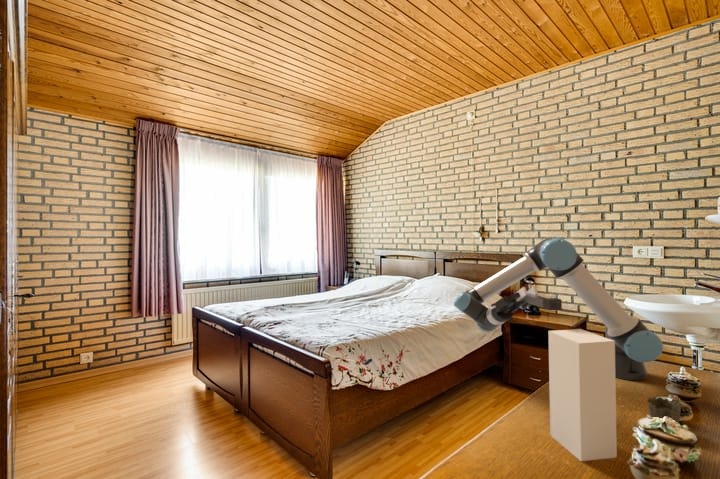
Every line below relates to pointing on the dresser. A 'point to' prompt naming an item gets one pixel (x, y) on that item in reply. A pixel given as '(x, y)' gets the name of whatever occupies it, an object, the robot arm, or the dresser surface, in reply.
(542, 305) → the dark grey bar
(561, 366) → the tall cream upright block
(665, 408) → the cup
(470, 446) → the dresser surface
